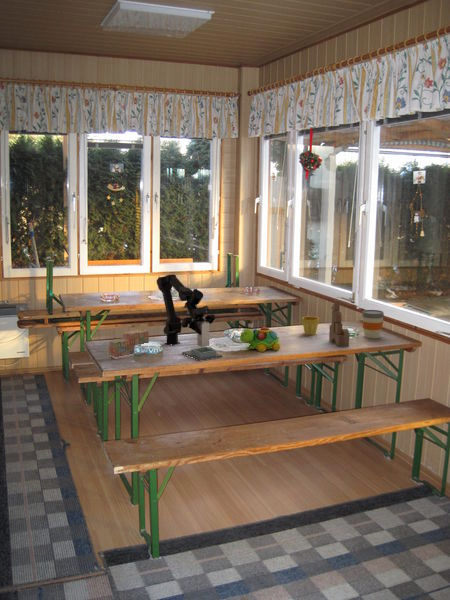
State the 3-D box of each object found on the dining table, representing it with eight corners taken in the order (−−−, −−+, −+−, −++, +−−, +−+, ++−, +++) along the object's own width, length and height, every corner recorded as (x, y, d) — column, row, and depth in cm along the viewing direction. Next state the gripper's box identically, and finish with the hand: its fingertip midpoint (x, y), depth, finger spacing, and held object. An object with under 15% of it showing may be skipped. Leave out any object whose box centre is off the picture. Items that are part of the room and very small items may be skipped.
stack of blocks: (116, 360, 331) (115, 337, 329) (109, 357, 336) (108, 335, 334) (149, 352, 346) (148, 330, 344) (142, 350, 350) (141, 328, 348)
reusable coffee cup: (360, 338, 376) (361, 313, 373) (362, 333, 387) (363, 309, 385) (382, 339, 372) (383, 314, 369) (383, 334, 383) (384, 310, 381)
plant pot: (314, 336, 380) (315, 320, 378) (298, 334, 385) (299, 318, 383) (321, 333, 389) (321, 317, 387) (305, 331, 394) (305, 315, 392)
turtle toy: (234, 347, 357) (234, 326, 355) (272, 343, 365) (272, 323, 363) (246, 354, 341) (246, 333, 339) (285, 350, 349) (285, 329, 347)
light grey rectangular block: (197, 345, 337) (197, 322, 335) (204, 344, 339) (204, 321, 337) (202, 347, 333) (201, 323, 331) (209, 345, 336) (209, 322, 333)
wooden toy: (349, 346, 357) (351, 302, 353) (338, 346, 356) (339, 303, 351) (338, 339, 372) (339, 297, 367) (327, 340, 370) (328, 298, 366)
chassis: (181, 353, 342) (181, 347, 342) (203, 349, 350) (203, 343, 350) (199, 361, 328) (199, 354, 327) (222, 357, 336) (222, 350, 335)
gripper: (183, 302, 330) (195, 327, 323) (213, 299, 340) (225, 323, 333) (176, 315, 338) (187, 339, 331) (205, 311, 348) (217, 334, 341)
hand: (204, 333), depth 334 cm, fingers closed on light grey rectangular block, 4 cm apart
